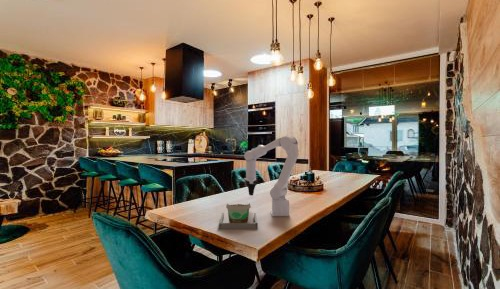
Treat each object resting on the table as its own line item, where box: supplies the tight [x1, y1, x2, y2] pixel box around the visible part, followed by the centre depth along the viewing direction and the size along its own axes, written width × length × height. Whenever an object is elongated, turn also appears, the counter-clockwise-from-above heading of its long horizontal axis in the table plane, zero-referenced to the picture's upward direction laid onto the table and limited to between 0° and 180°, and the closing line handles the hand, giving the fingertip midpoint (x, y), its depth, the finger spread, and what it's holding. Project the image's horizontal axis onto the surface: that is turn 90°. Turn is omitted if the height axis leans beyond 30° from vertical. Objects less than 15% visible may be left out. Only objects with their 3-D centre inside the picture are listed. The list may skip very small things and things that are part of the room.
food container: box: [225, 202, 251, 223], centre depth 126 cm, size 12×6×10 cm, turn 92°
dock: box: [218, 212, 259, 230], centre depth 128 cm, size 18×17×2 cm
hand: (250, 193), depth 152 cm, fingers open, 7 cm apart
